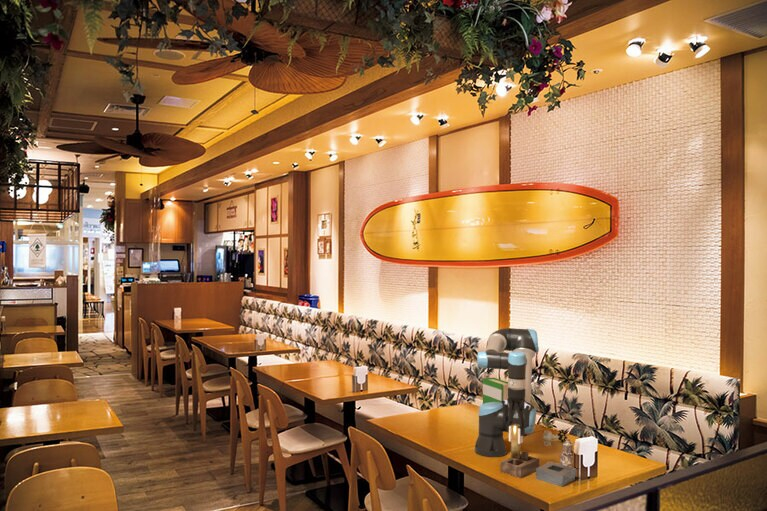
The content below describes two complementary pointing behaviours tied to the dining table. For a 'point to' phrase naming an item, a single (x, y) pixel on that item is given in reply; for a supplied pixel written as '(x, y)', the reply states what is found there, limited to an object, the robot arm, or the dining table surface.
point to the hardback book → (494, 390)
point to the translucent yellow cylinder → (515, 441)
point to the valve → (553, 437)
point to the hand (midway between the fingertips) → (515, 441)
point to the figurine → (567, 454)
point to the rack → (520, 465)
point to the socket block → (555, 473)
